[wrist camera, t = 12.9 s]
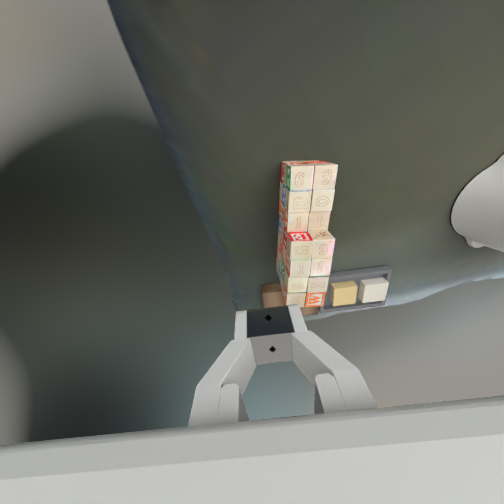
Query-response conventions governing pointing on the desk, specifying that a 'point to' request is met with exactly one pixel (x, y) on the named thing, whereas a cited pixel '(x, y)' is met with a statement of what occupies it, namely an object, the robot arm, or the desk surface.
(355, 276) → the tray
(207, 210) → the desk surface
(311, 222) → the stack of blocks
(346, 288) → the ochre tile
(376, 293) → the cream tile
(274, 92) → the desk surface
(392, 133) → the desk surface
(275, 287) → the walnut ledge
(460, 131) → the desk surface
